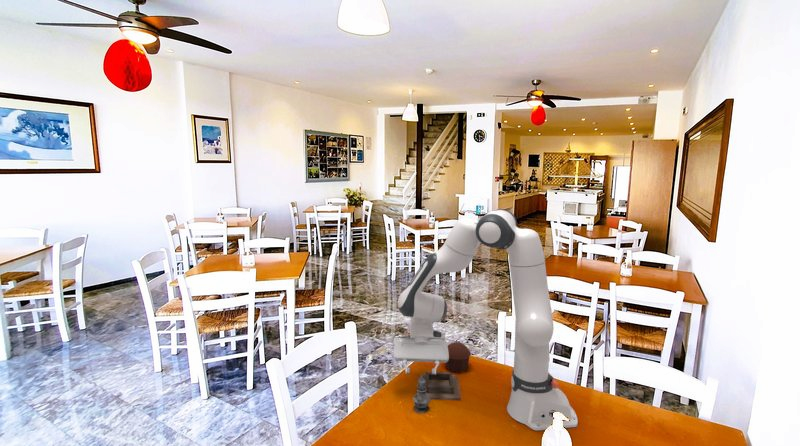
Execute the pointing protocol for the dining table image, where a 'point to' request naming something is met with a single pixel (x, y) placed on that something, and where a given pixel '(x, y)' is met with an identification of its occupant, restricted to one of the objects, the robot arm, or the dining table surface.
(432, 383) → the walnut board
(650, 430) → the dining table surface
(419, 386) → the grey chess piece
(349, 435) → the dining table surface
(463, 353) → the muffin
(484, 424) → the dining table surface
